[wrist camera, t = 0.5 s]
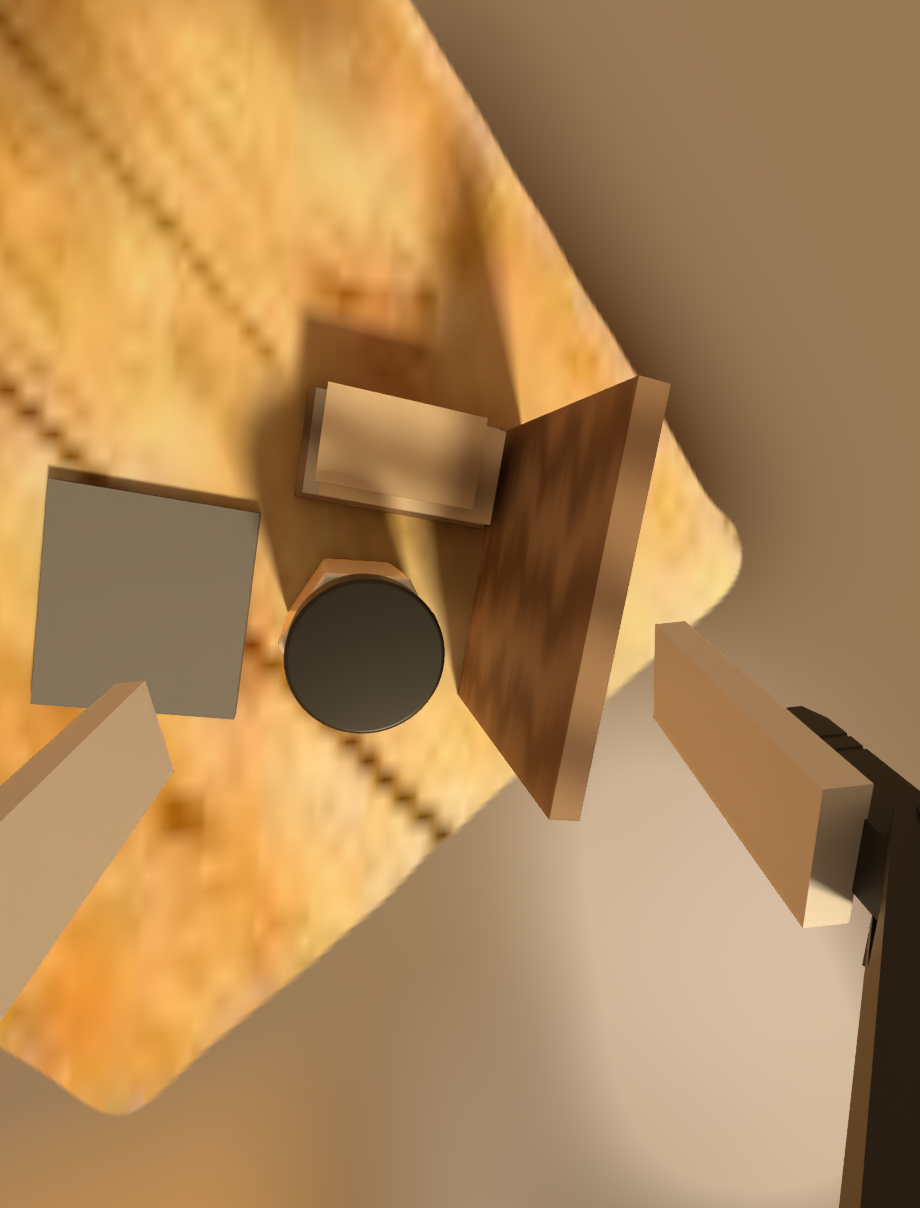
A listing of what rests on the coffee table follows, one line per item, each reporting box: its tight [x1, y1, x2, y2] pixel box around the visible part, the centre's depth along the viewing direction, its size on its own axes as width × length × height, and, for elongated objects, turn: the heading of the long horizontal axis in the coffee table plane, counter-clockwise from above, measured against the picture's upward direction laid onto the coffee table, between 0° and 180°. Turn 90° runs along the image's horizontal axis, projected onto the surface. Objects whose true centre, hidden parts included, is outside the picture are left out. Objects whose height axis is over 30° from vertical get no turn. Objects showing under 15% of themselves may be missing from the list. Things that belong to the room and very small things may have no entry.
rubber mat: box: [30, 478, 261, 719], centre depth 37 cm, size 14×12×1 cm
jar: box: [278, 558, 445, 734], centre depth 34 cm, size 9×8×12 cm
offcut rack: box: [295, 375, 671, 821], centre depth 32 cm, size 20×15×18 cm
